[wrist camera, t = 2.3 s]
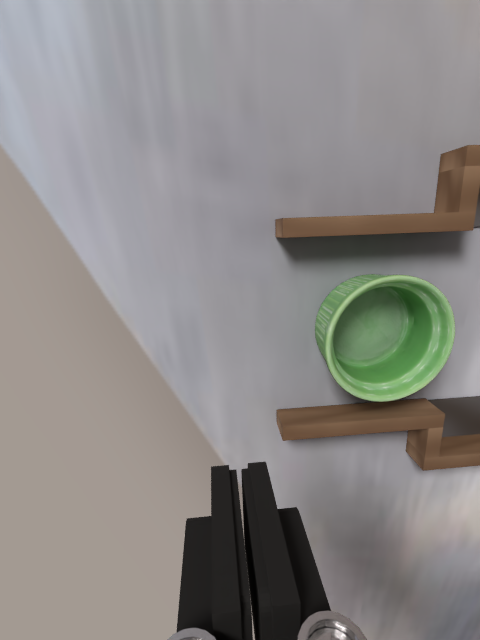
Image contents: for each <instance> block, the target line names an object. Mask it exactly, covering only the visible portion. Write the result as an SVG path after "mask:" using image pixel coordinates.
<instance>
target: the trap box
mask: <svg viewBox="0 0 480 640" xmlns="http://www.w3.org/2000/svg"><path fill="white" fill-rule="evenodd" d="M476 226H480V145H467V146H464V147H461V148H458V149H455V150H452V151H449V152H446V153H443V154H441V159H440V167H439V176H438V184H437V192H436V201H435V209H434V213H421V214H392V215H364V216H335V217H306V218H282V219H276V237H281V238H289V237H314V236H340V235H366V234H391V233H417V232H443V231H469V230H473V227H476ZM277 425H278V428H279V431H280V434H281V437H282V440H283V441H285V440H297V439H309V438H321V437H333V436H345V435H357V434H369V433H381V432H393V431H405V430H408V437H407V445H406V452H407V453H408V454H409V455H410V456H411V457H412V459H413V460H414V461H415V462H416V463H417V464H418V465H419V466H420V468H421V469H422V470H423V471H424V470H434V469H445V468H456V467H467V466H478V465H480V396H476V397H463V398H450V399H437V400H427V399H425V398H423V399H410V400H397V401H384V402H371V403H358V404H344V405H331V406H318V407H305V408H292V409H279V410H277Z"/></svg>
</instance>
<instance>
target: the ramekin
mask: <svg viewBox="0 0 480 640" xmlns="http://www.w3.org/2000/svg"><path fill="white" fill-rule="evenodd" d="M315 335H316V340H317V344H318V347H319V349H320V351H321V353H322V355H323V357H324V358H325V360H326V362H327V365H328V368H329V370H330V372H331V374H332V376H333V378H334V379H335V380H336V382H337V383H338V384H339V385H340V386H341V387H342V388H343V389H344V390H346V391H347V392H348V393H350V394H352V395H354V396H356V397H358V398H361V399H364V400H368V401H376V402H384V401H393V400H397V399H401V398H404V397H407V396H409V395H411V394H413V393H415V392H417V391H419V390H420V389H422V388H423V387H425V386H426V385H427V384H428V383H429V382H430V381H432V380H433V379H434V378H435V377H436V375H437V374H438V373H439V372H440V371H441V369H442V368H443V366H444V365H445V363H446V361H447V359H448V357H449V355H450V353H451V350H452V346H453V343H454V337H455V321H454V316H453V312H452V309H451V306H450V304H449V302H448V300H447V299H446V297H445V296H444V295H443V294H442V292H441V291H440V290H439V289H438V288H436V287H435V286H434V285H432V284H431V283H429V282H427V281H425V280H423V279H420V278H416V277H412V276H406V275H388V276H385V275H375V274H371V275H362V276H357V277H354V278H351V279H349V280H347V281H345V282H343V283H341V284H340V285H339V286H337V287H336V288H335V289H334V290H333V291H331V292H330V294H329V295H328V296H327V297H326V299H325V300H324V302H323V303H322V305H321V307H320V309H319V312H318V315H317V318H316V324H315Z"/></svg>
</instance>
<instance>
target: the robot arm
mask: <svg viewBox="0 0 480 640" xmlns="http://www.w3.org/2000/svg"><path fill="white" fill-rule="evenodd" d="M242 494H243V516H244V536H243V528H242V519H241V509H240V500H239V491H238V482H237V473H236V470H229V465H224V466H213V467H211V505H212V506H211V512H212V513H211V514H212V516H208V517H199V518H188V519H187V521H186V530H185V541H184V552H183V564H182V576H181V587H180V600H179V611H178V623H177V633H175V634H173V635H172V636H171V637H170V638H169V639H168V640H253V637H252V616H253V624H254V634H255V640H367V639H366V637H365V636H364V634H363V633H362V631H361V630H360V628H359V627H358V626H356V625H355V624H354V623H353V622H352V621H351V620H350V619H349V618H347V617H345V616H343V615H341V614H340V613H336V612H332V611H331V609H330V606H329V603H328V600H327V597H326V594H325V591H324V588H323V585H322V581H321V578H320V575H319V572H318V569H317V566H316V563H315V560H314V557H313V554H312V550H311V547H310V544H309V541H308V538H307V535H306V532H305V529H304V526H303V523H302V519H301V516H300V513H299V511H298V509H297V507H295V508H285V509H277V505H276V501H275V497H274V493H273V489H272V485H271V481H270V477H269V473H268V469H267V465H266V462H257V463H248V469H242ZM244 540H245V545H244ZM245 552H246V554H245ZM246 562H247V563H246ZM247 571H248V572H247ZM248 580H249V581H248ZM249 589H250V590H249ZM250 598H251V600H250ZM251 606H252V613H251Z"/></svg>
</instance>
